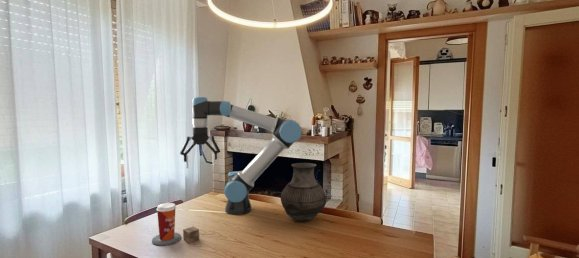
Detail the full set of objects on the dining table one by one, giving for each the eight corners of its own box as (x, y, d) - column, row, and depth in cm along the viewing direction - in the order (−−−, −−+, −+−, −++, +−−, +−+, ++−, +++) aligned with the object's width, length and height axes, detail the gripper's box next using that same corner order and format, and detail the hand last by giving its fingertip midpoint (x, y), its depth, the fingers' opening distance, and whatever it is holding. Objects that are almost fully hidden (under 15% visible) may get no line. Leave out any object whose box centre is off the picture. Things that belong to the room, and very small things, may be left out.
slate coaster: (179, 232, 139) (179, 230, 139) (182, 242, 128) (182, 240, 128) (151, 236, 134) (151, 235, 134) (152, 247, 123) (152, 246, 123)
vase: (320, 231, 141) (321, 170, 140) (273, 224, 149) (274, 167, 147) (329, 214, 165) (330, 162, 163) (288, 209, 173) (289, 159, 171)
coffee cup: (169, 242, 126) (169, 209, 125) (152, 240, 128) (152, 207, 127) (180, 234, 135) (180, 203, 134) (164, 233, 136) (164, 201, 135)
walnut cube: (193, 236, 135) (193, 226, 134) (199, 240, 131) (198, 229, 131) (183, 240, 131) (183, 229, 131) (188, 243, 128) (188, 232, 127)
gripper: (222, 126, 161) (222, 163, 162) (174, 126, 150) (174, 167, 151) (225, 126, 154) (226, 166, 155) (175, 127, 143) (176, 170, 144)
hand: (200, 166), depth 153 cm, fingers open, 13 cm apart
